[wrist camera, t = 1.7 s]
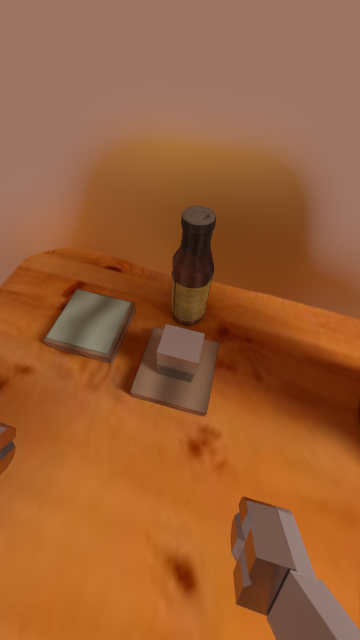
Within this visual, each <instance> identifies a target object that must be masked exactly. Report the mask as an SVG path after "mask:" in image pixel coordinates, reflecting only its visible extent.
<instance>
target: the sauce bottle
mask: <svg viewBox="0 0 360 640" xmlns="http://www.w3.org/2000/svg"><path fill="white" fill-rule="evenodd" d="M215 222H216V216H215V213H214V212H213V211H212V210H211V209H209V208H206V207H203V206H191V207H188V208H186V209H185V210H184V211H183V213H182V219H181V225H182V228H183V232H182V240H181V246H180V248H179V249H178V250H177V251H176V253H175V254H174V256H173V271H172V313H173V316H174V318H175V320H176V321H178V322H179V323H181V324H184V325H193V324H196V323H198V322H199V321H200V320H201V318H202V316H203V314H204V312H205V309H206V304H207V300H208V296H209V290H210V286H211V282H212V278H213V273H214V263H213V258H212V253H211V248H210V244H211V243H210V242H211V236H212V231H213V230H214V228H215Z"/></svg>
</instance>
